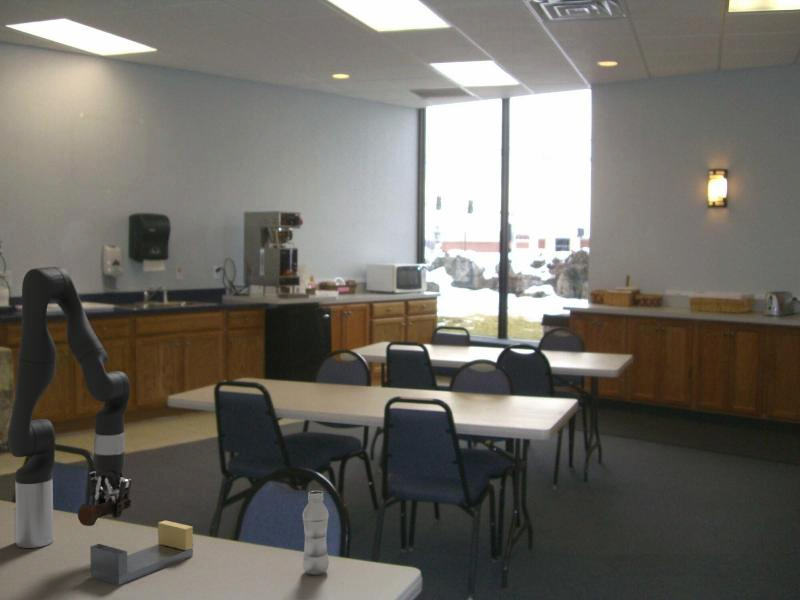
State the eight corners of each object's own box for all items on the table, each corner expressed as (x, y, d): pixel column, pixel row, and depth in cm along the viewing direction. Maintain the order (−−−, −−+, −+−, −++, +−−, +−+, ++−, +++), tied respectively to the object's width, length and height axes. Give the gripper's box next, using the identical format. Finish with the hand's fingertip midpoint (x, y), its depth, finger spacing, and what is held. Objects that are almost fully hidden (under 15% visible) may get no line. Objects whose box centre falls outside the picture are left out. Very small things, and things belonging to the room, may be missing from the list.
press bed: (90, 577, 211) (90, 546, 211) (165, 548, 232) (165, 521, 231) (119, 585, 206) (118, 554, 205) (192, 556, 226) (192, 527, 226)
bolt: (129, 516, 231) (87, 531, 217) (116, 504, 232) (74, 518, 219) (138, 499, 229) (96, 512, 216) (125, 487, 231) (83, 500, 217)
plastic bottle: (333, 569, 217) (333, 490, 216) (321, 579, 211) (322, 497, 210) (309, 566, 219) (309, 488, 218) (297, 576, 213) (297, 495, 212)
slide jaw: (158, 543, 229) (158, 522, 229) (165, 540, 231) (165, 520, 231) (185, 550, 224) (185, 529, 224) (192, 547, 226) (192, 526, 226)
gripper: (78, 448, 224) (78, 513, 225) (117, 457, 216) (116, 524, 218) (102, 443, 230) (101, 506, 231) (140, 451, 223) (139, 516, 224)
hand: (108, 514), depth 225 cm, fingers closed on bolt, 5 cm apart
